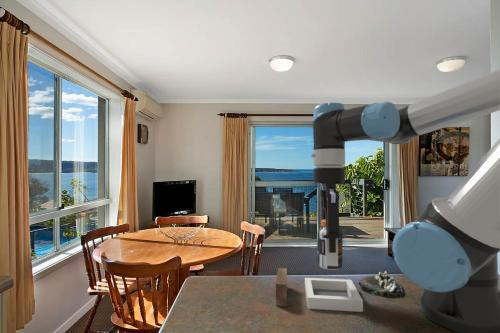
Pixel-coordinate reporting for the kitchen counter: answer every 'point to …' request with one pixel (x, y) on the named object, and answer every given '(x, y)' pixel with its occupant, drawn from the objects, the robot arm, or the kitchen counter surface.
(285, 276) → the door edge
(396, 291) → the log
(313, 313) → the kitchen counter surface
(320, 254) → the pill bottle
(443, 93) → the robot arm
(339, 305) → the plate
